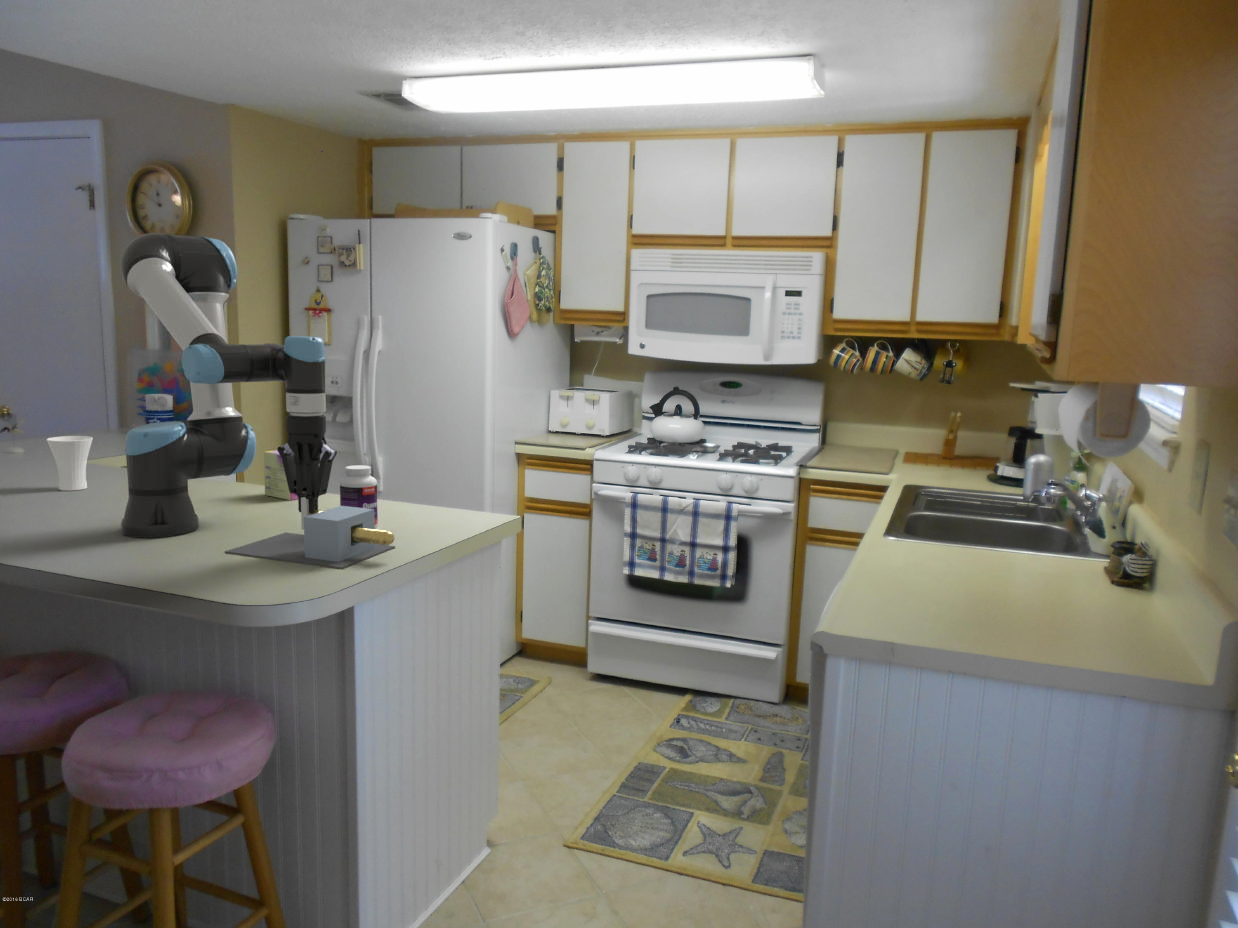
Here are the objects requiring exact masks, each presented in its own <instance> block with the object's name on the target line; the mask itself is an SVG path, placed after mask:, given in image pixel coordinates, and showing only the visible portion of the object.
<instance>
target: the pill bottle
mask: <svg viewBox="0 0 1238 928" xmlns="http://www.w3.org/2000/svg"><path fill="white" fill-rule="evenodd" d="M344 469H345V475H346V476H344V477H343V478H341V479H340V481H339V497H340V498H339V503H340V504H339V506H349V507H358V508H367V509H374V529H375V530H377V528H378V526H379V525H378V481H377V479H376V478H375V477H373V476H372V474H371V473H372V467H371V465H365V464H363V465H361V464H360V465H359V464H357V465H349V466H345V468H344Z"/></svg>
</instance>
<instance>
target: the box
mask: <svg viewBox="0 0 1238 928" xmlns="http://www.w3.org/2000/svg"><path fill="white" fill-rule="evenodd" d="M263 464H264V465H263V467H264V468H263V470H264V496H269V497H273V498H278V499H282V500H287V501H298V497H297V495H296V494H294V493H290V492H289V488H288V483H287V479H286V475H285V470H284V466H283V462H282V458H281V456H280V454H279V452H278V450H277V449H275V450H268V451H264V452H263Z"/></svg>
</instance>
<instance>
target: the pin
mask: <svg viewBox="0 0 1238 928" xmlns="http://www.w3.org/2000/svg"><path fill="white" fill-rule="evenodd" d="M322 511H323V510H321V509H320V510H319V509H318V511H315V512H313V513H312V514H315V513H319V512H322ZM312 514H311V515H312ZM351 541H357V542H365V543H373V544H381V545H389V546H391V545H392V544H393V543H394V541H395V535H394V533H393V532H392V531H389V530H381V529H375V530H374V529H366V528H358V527H351Z"/></svg>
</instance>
